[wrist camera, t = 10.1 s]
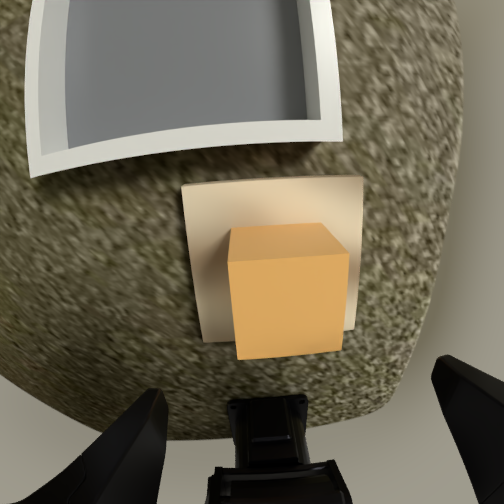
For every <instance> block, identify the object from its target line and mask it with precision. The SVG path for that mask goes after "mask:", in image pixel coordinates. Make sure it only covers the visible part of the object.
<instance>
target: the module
mask: <svg viewBox="0 0 504 504" xmlns="http://www.w3.org/2000/svg"><path fill="white" fill-rule="evenodd" d="M349 254H350V253H349V252H348V251H347V250H346V249H345V248H344V247H343V246H342V244H341V243H340V242H339V241H338V240H337V239H336V238H335V237H334V236H333V235H332V234H331V232H330V231H329V230H328V229H327V228H326V227H325V226H324V225H323V224H322V223H321V222H318V223H300V224H283V225H267V226H252V227H237V228H231V234H230V243H229V252H228V272H229V283H230V293H231V302H232V312H233V322H234V331H235V340H236V349H237V358H238V360H245V359H260V358H273V357H285V356H295V355H305V354H314V353H322V352H330V351H338V350H341V348H342V339H343V330H344V321H345V310H346V299H347V286H348V272H349Z"/></svg>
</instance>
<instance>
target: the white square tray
mask: <svg viewBox="0 0 504 504" xmlns="http://www.w3.org/2000/svg"><path fill="white" fill-rule="evenodd" d="M25 122H26V139H27V151H28V161H29V169H30V177H31V178H33V177H36V176H40V175H44V174H48V173H53V172H57V171H61V170H66V169H70V168H75V167H80V166H84V165H89V164H94V163H100V162H105V161H110V160H116V159H122V158H128V157H134V156H140V155H147V154H154V153H161V152H169V151H177V150H185V149H194V148H204V147H214V146H226V145H239V144H254V143H274V142H307V141H343V135H342V115H341V99H340V85H339V73H338V63H337V53H336V44H335V35H334V27H333V20H332V13H331V6H330V0H33V1H32V7H31V14H30V21H29V29H28V38H27V50H26V65H25Z"/></svg>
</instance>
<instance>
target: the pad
mask: <svg viewBox="0 0 504 504" xmlns="http://www.w3.org/2000/svg"><path fill="white" fill-rule="evenodd" d="M181 189H182V198H183V207H184V216H185V224H186V232H187V240H188V247H189V255H190V262H191V269H192V276H193V282H194V289H195V295H196V302H197V308H198V314H199V320H200V326H201V331H202V337H203V342H225V341H236V340H235V331H234V322H233V312H232V302H231V293H230V283H229V272H228V252H229V243H230V234H231V228H237V227H252V226H267V225H283V224H300V223H318V222H321V223H322V224H323V225H324V226H325V227H326V228H327V229H328V230H329V231H330V232H331V234H332V235H333V236H334V237H335V238H336V239H337V240H338V241H339V242H340V243H341V244H342V246H343V247H344V248H345V249H346V250H347V251H348V252H349V253H350V254H349V272H348V286H347V299H346V310H345V321H344V330H343V331H346V330H353V329H354V324H355V315H356V306H357V296H358V285H359V273H360V259H361V242H362V218H363V177H362V176H359V175H317V176H290V177H270V178H253V179H239V180H225V181H213V182H202V183H192V184H184V185H183V186H182V187H181Z"/></svg>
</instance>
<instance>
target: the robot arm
mask: <svg viewBox="0 0 504 504" xmlns="http://www.w3.org/2000/svg"><path fill="white" fill-rule="evenodd" d="M431 380H432V384H433V386H434V389H435V392H436V395H437V398H438V401H439V404H440V407H441V410H442V413H443V415H444V418H445V420H446V422H447V424H448V427H449V429H450V431H451V433H452V436H453V438H454V441H455V443H456V445H457V448H458V450H459V453H460V455H461V458H462V460H463V463H464V465H465V468H466V470H467V473H468V476H469V478H470V481H471V483H472V486H473V489H474V492H475V495H476V498H477V500H478V503H479V504H504V382H503V381H501V380H499V379H497V378H494V377H493V376H491V375H489V374H486V373H484V372H482V371H481V370H478V369H477V368H474V367H472V366H471V365H469V364H467V363H465V362H462V361H460V360H458V359H456V358H455V357H453V356H451V355H444V356H440V357H438V358H437V360H436V363H435V366H434V368H433V371H432V375H431ZM300 400H301V401H300ZM233 405H234V406H233ZM227 409H228V415H229V420H230V425H231V431H232V436H233V441H234V445H235V453H236V454H235V457H236V458H235V459H236V460H235V461H236V462H235V468H223V467H215V473H214V475H212V476H211V477H208V489H207V497H206V501H205V504H353V503H352V498H351V495H350V493H349V490H348V488H347V486H346V484H345V482H344V480H343V477H342V475H341V473H340V471H339V469H338V466H337V464H336V462H335V460H334V459H333V460H327V461H326V462H319V463H310V458H309V453H308V448H307V443H306V438H305V432H306V421H307V410H308V398H307V396H306V395H303V394H301V395H292V396H283V397H272V398H259V399H243V400H230V401H229V402H228V403H227ZM167 425H168V405H167V402H166V399H165V397H164V394H163V391H162V390H161V389H159V388H149V389H147V390H146V391H145V392H144V393H143V394H142V395H141V396H140V397H139V398H138V399H137V400H136V401H135V402H134V403H133V404H132V405H131V406H130V407H129V408H128V409H127V410H126V411H125V412H124V413H123V414H122V415H121V416H120V417H119V418H118V419H117V420H116V421H115V422H114V423H113V424H112V425H111V426H110V427H109V428H108V429H106V430H105V431H104V432H103V433H102V434H101V435H100V436H99V437H98V438H97V439H96V440H95V441H94V442H93V443H92V444H91V445H90V446H89V447H88V448H87V449H86V450H85V451H84V452H83V453H82V456H81V455H80V456H78V457H77V458H76V459H75V461H73V462H72V463H71V464H70V465H69V466H68V467H67V468H65V469H64V470H63V471H62V472H61V473H59V474H58V475H57V476H56V477H54V478H53V479H52V480H50V481H49V482H48V483H46V484H45V485H43V486H42V487H41V488H39V489H38V490H37V491H35V492H34V493H32V494H31V495H30V496H28V497H26V498H25V499H23V500H21V501H18V502H16V503H11V504H157V498H158V492H159V486H160V481H161V475H162V470H163V465H164V459H165V453H166V440H167Z"/></svg>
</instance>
